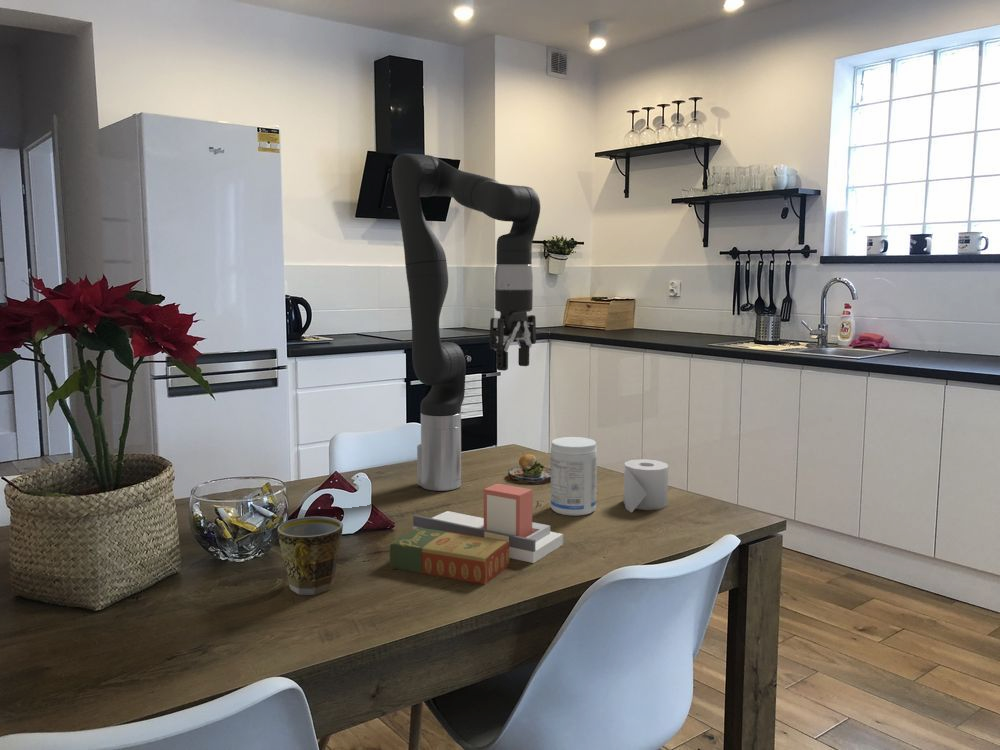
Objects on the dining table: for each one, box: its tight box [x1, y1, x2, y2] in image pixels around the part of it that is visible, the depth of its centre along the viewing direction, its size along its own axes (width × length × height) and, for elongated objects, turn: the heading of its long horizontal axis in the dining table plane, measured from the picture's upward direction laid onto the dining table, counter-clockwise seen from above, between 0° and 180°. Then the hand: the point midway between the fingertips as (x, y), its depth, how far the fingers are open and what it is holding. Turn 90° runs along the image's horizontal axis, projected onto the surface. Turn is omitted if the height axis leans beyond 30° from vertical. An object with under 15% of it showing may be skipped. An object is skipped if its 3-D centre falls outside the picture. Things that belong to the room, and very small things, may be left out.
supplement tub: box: [550, 436, 598, 517], centre depth 168 cm, size 10×10×15 cm
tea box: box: [483, 483, 533, 538], centre depth 145 cm, size 5×8×9 cm, turn 58°
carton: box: [389, 527, 510, 585], centre depth 137 cm, size 10×18×5 cm, turn 65°
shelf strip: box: [412, 510, 564, 564], centre depth 150 cm, size 26×11×4 cm, turn 58°
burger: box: [507, 452, 551, 485], centre depth 194 cm, size 12×12×8 cm
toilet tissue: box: [623, 458, 670, 513], centre depth 171 cm, size 9×13×9 cm
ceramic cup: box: [277, 516, 344, 596], centre depth 126 cm, size 13×10×10 cm
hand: (513, 368), depth 163 cm, fingers open, 8 cm apart
